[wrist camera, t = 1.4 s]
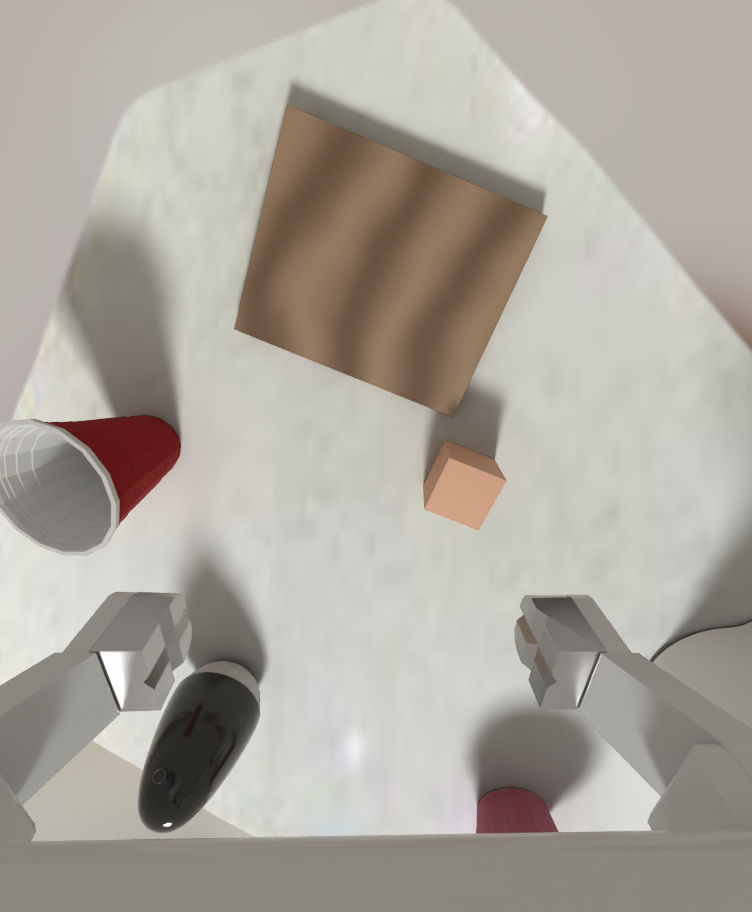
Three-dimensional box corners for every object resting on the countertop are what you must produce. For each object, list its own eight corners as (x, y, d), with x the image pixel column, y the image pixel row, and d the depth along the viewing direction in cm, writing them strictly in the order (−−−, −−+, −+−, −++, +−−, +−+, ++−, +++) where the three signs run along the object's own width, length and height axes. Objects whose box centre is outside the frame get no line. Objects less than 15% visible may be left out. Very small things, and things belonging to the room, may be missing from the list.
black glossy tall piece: (272, 653, 46) (208, 802, 32) (270, 714, 50) (211, 872, 35) (190, 638, 47) (91, 778, 32) (193, 699, 50) (105, 850, 36)
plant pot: (592, 809, 50) (648, 964, 38) (516, 854, 54) (545, 1006, 42) (507, 757, 48) (538, 902, 36) (436, 808, 53) (443, 952, 41)
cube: (494, 459, 36) (506, 480, 31) (470, 503, 37) (478, 530, 33) (444, 439, 35) (449, 457, 31) (423, 485, 37) (424, 509, 32)
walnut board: (541, 221, 29) (547, 216, 28) (451, 413, 34) (452, 417, 33) (293, 115, 28) (286, 104, 27) (241, 328, 34) (234, 329, 32)
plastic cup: (79, 407, 38) (-63, 444, 26) (173, 375, 36) (62, 399, 24) (132, 503, 41) (25, 573, 30) (221, 478, 39) (143, 543, 28)
